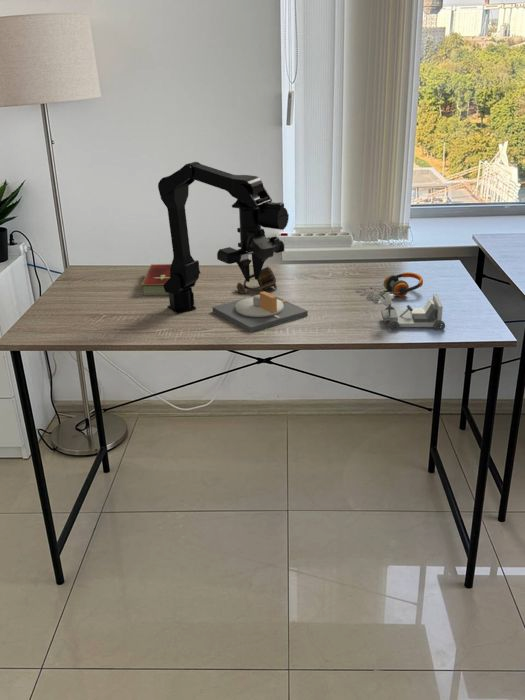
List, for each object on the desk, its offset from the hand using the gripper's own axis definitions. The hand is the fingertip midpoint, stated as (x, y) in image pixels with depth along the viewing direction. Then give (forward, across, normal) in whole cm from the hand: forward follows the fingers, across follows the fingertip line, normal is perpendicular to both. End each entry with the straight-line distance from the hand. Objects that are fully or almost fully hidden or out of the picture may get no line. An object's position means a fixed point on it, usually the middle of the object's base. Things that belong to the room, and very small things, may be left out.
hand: (252, 280), depth 202 cm
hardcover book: (+14, -3, +47) cm, 49 cm away
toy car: (+14, +35, -26) cm, 46 cm away
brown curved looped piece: (+13, +18, +24) cm, 32 cm away
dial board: (+13, +6, +6) cm, 15 cm away
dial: (+11, +6, +5) cm, 14 cm away
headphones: (+13, +48, -7) cm, 50 cm away
